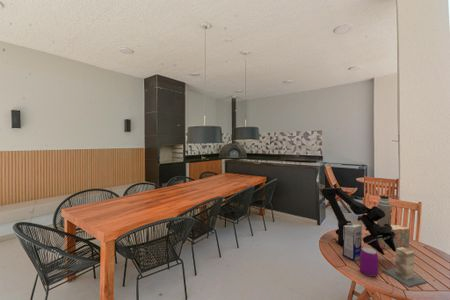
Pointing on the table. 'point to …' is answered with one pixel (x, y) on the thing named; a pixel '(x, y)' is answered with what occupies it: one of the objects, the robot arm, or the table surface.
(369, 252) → the beverage can
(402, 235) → the stack of blocks
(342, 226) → the robot arm
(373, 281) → the table surface
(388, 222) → the thermos bottle
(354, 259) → the milk carton
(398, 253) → the birch block
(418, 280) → the charcoal board
